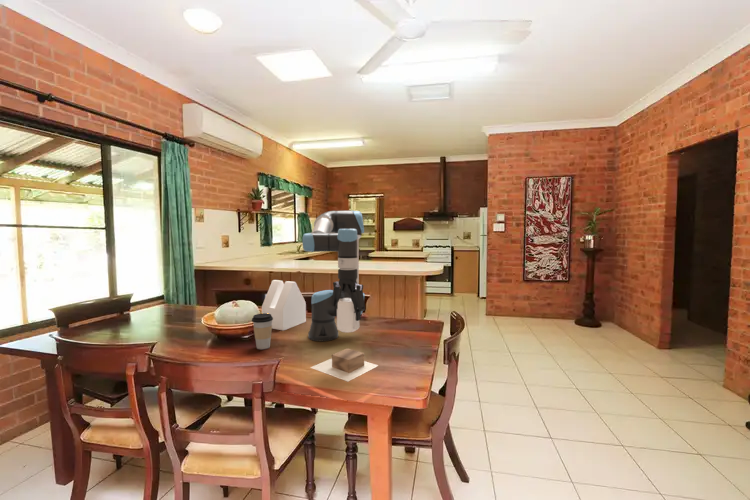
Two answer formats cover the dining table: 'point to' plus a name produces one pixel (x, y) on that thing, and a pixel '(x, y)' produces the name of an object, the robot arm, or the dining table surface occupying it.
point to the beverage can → (345, 315)
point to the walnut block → (348, 360)
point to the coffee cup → (262, 330)
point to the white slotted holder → (284, 305)
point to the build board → (328, 369)
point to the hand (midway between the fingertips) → (348, 326)
